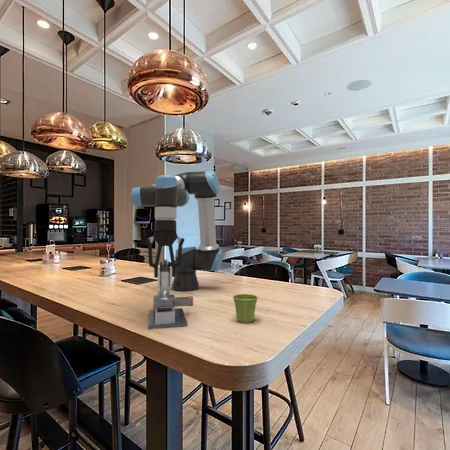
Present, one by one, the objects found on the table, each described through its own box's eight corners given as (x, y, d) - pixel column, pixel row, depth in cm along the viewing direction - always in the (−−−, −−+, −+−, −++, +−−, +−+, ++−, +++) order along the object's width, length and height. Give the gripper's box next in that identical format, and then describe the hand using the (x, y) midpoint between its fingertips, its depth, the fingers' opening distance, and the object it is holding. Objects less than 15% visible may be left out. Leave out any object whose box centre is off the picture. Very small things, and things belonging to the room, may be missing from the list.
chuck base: (182, 310, 114) (182, 298, 114) (187, 326, 96) (187, 311, 96) (149, 312, 111) (149, 300, 111) (148, 329, 93) (148, 314, 93)
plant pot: (231, 316, 107) (231, 293, 107) (255, 316, 108) (255, 293, 108) (234, 324, 98) (234, 300, 98) (260, 324, 99) (260, 299, 99)
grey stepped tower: (169, 294, 101) (169, 259, 101) (170, 298, 95) (170, 261, 96) (159, 295, 100) (159, 259, 101) (159, 298, 95) (160, 261, 95)
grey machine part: (191, 307, 114) (192, 280, 114) (194, 313, 107) (194, 284, 107) (153, 309, 111) (153, 282, 111) (153, 315, 103) (153, 286, 103)
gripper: (188, 220, 104) (187, 283, 104) (141, 219, 100) (140, 285, 100) (190, 219, 97) (189, 287, 96) (140, 218, 93) (139, 289, 92)
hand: (164, 286), depth 98 cm, fingers closed on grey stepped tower, 3 cm apart
